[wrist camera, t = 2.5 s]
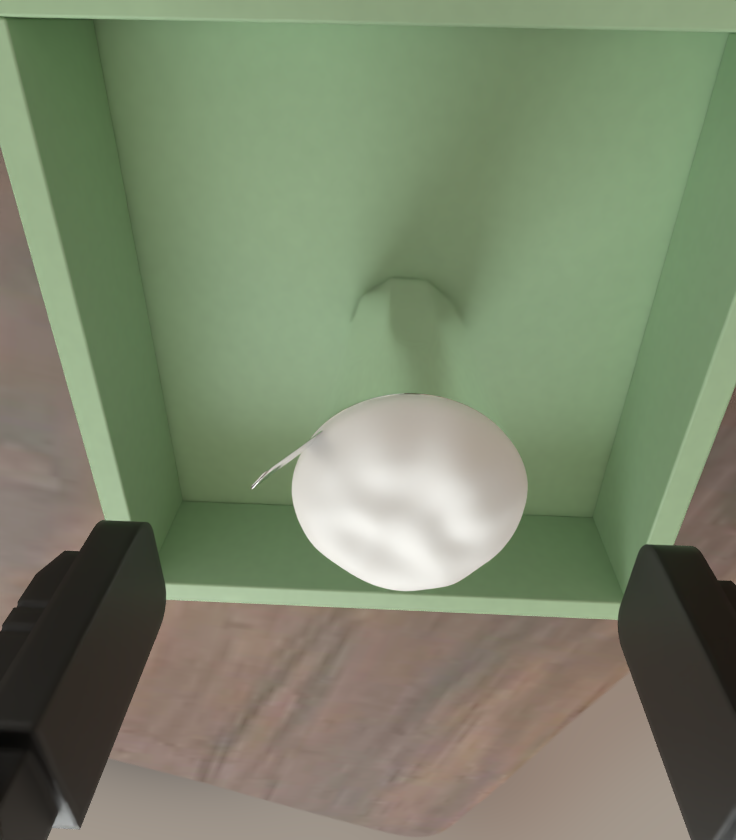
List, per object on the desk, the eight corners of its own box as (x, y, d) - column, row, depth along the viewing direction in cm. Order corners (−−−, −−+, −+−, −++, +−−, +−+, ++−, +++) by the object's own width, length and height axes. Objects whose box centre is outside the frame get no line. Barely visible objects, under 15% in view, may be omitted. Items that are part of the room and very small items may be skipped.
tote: (63, -23, 15) (-53, -38, 11) (762, -9, 15) (895, -20, 11) (170, 505, 24) (126, 598, 20) (604, 523, 24) (644, 621, 20)
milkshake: (373, 200, 17) (348, 379, 8) (511, 318, 19) (605, 565, 10) (278, 319, 19) (183, 559, 11) (411, 416, 21) (421, 689, 12)
